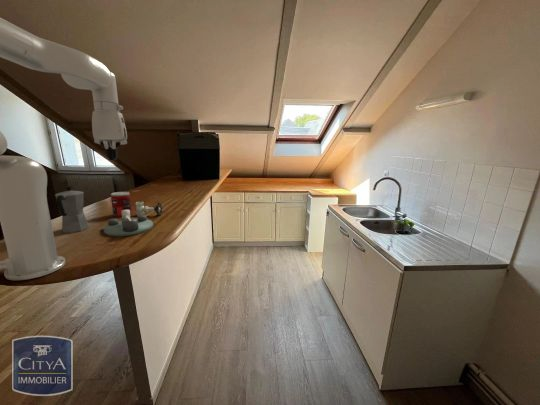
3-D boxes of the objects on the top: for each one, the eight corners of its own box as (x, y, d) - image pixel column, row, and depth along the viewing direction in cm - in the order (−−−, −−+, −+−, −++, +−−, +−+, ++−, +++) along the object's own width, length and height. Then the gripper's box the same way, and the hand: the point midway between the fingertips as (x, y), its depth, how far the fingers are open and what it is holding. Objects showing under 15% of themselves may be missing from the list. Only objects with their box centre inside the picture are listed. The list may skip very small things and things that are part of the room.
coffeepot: (70, 224, 106) (63, 183, 102) (95, 223, 108) (89, 183, 104) (49, 237, 92) (40, 190, 87) (78, 236, 94) (70, 190, 90)
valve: (133, 217, 119) (158, 217, 119) (131, 204, 117) (156, 204, 118) (139, 213, 125) (163, 213, 126) (138, 200, 124) (162, 201, 124)
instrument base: (104, 239, 91) (103, 230, 90) (103, 225, 105) (102, 218, 105) (156, 231, 101) (155, 223, 100) (149, 219, 115) (148, 212, 114)
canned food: (114, 213, 124) (111, 192, 121) (132, 212, 127) (130, 191, 124) (112, 217, 117) (109, 195, 114) (131, 216, 120) (128, 194, 118)
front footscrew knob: (139, 229, 97) (138, 215, 96) (123, 232, 94) (122, 218, 92) (133, 221, 107) (132, 208, 105) (119, 223, 103) (117, 210, 102)
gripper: (132, 110, 93) (137, 159, 97) (88, 108, 90) (95, 158, 94) (125, 108, 86) (131, 160, 90) (77, 105, 83) (85, 160, 87)
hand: (113, 159), depth 92 cm, fingers closed
